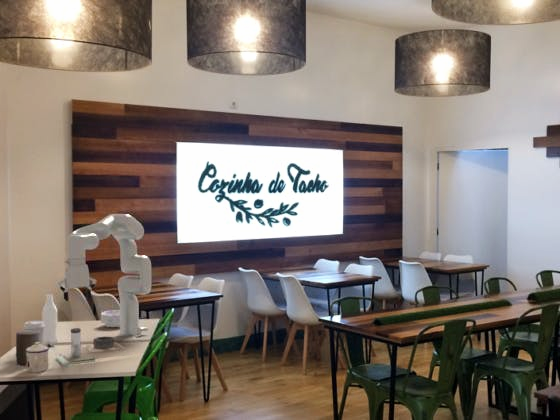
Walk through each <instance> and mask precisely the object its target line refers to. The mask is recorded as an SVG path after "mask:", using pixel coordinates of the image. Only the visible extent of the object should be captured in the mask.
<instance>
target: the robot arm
mask: <svg viewBox="0 0 560 420" xmlns="http://www.w3.org/2000/svg"><path fill="white" fill-rule="evenodd" d="M144 228H145V227H143V225H142V223H141V222H139V221H138V220H137V219H136V218H135V217H134V216H132V215H130V214H127V213H112V214H108V215H107V216H105V217H104V218H102V219H101V220H98V222H95V223H93V224H92V223H91V224H89V225H85V226H82V227H80V228H77V229H76V230H73V231H72V232H71V233H70V234H69V235H68V237H67V259H66V260H65V259H64V264H66V269H65V275H64V277H65V278H63V279H62V280H60V281H58V282H56V284H57V286H58V288H59V289H60V290H61V291H62V292H63V299H64V300H65V302H69V292H68V291H69V289H77V288H87V289H86V299H87V300H90V299H91V297H92V290H93V288H94V287H95V286H96V284H97V281H98V280H97V279H95V278H92V277H91V276H90V271H89V267H88V264H86V250H91V251H92V250H94V249H96V248H98V247H99V245H100V240H104V239H107V238H108V237H110V236H111V235H112V237H113V238H114V239H115V240H116V241H117V242H118V245H119V250H120V251H119V253H120V269H121V272H122V273H124V274H134V275H124V276H122V277H120V278H119V279H118V281H117V290H118V294H119V310H120V327H119V332H118V333H117V334H116V337H122V336H124V337H125V336H133V337H135V338H139V336H140V337H142V336H143V335H142V334H143V333H142V332H147V331H149V328H148V327H146V326H145V327H141V326H140V325H139V321H140V320H139V318H140V317H139V316H140V315H139V300H138V297H137V295H142V296H143V295H148V294H150V292H151V290H152V262H151V259H150V257H148V256H147V255H141V254H140V255H139V254H138V246H137V244H136V241H135V240H137V241H138V240H141V239H142V238H143V237H144V234H145V229H144ZM135 274H138V275H135ZM91 281H92V282H91ZM90 283H91V284H90ZM62 284H64V285H65V286H64V287H63V285H62Z"/></svg>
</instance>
